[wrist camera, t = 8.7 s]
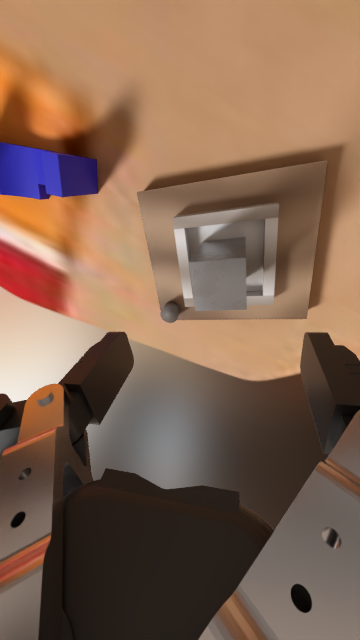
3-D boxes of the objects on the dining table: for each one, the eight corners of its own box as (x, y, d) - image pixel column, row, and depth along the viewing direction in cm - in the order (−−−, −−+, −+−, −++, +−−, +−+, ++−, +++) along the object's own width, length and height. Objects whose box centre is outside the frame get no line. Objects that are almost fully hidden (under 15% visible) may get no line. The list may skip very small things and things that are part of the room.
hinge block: (203, 241, 23) (188, 262, 17) (245, 236, 22) (245, 257, 16) (206, 280, 25) (195, 311, 19) (246, 277, 24) (246, 309, 18)
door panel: (142, 191, 24) (130, 192, 21) (322, 161, 19) (334, 158, 17) (166, 313, 30) (159, 326, 28) (303, 311, 26) (309, 326, 23)
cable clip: (3, 188, 27) (-52, 191, 22) (-8, 140, 25) (-72, 130, 20) (99, 208, 26) (64, 215, 21) (97, 159, 23) (57, 154, 18)
